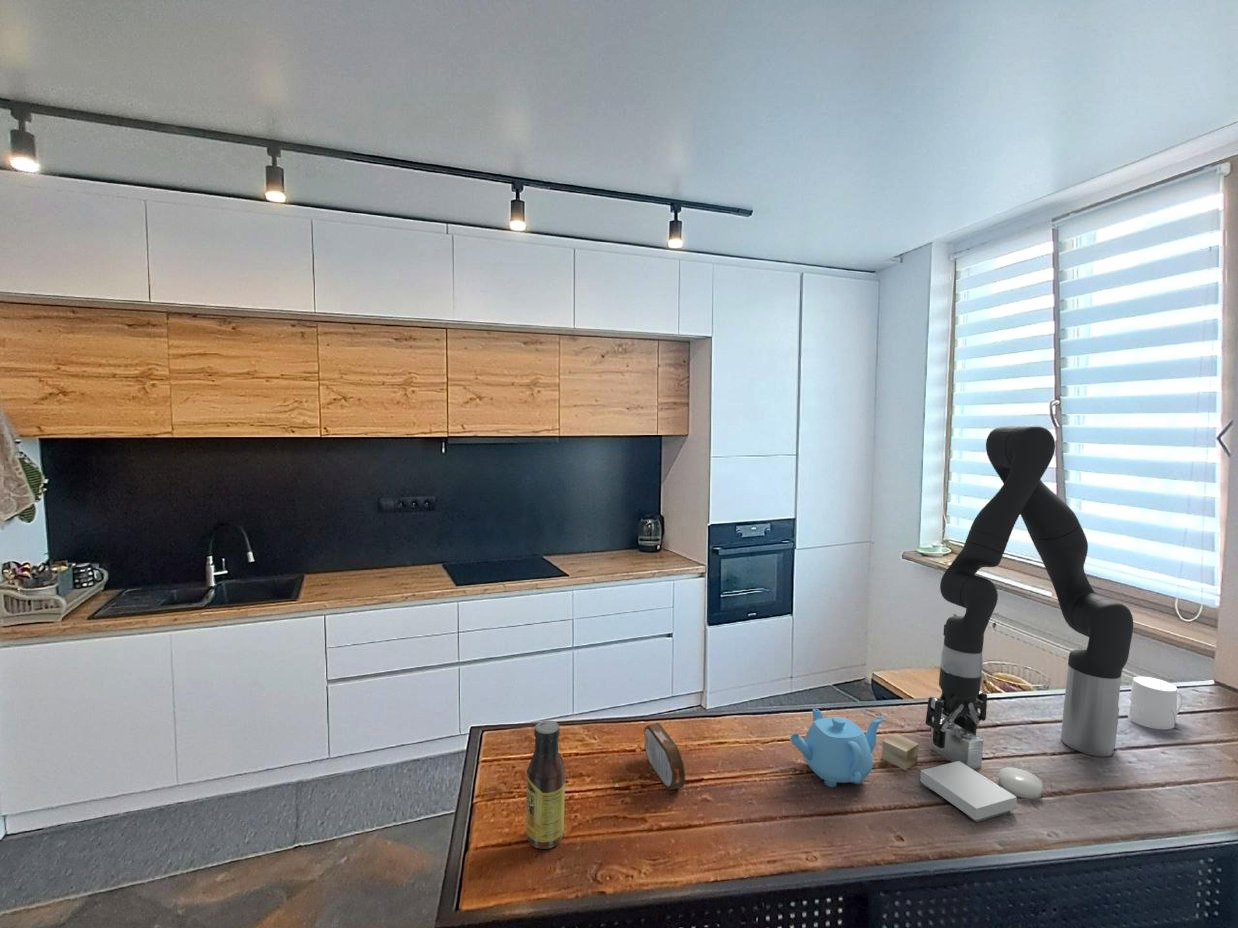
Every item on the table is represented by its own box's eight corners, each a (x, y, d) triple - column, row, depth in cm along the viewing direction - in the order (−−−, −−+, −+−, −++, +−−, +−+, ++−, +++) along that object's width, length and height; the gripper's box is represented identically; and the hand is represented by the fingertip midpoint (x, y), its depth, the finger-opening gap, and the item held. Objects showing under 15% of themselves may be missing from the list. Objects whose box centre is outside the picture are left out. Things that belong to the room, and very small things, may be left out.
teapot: (813, 744, 133) (816, 694, 132) (880, 768, 125) (884, 714, 124) (786, 777, 121) (789, 722, 120) (858, 806, 113) (862, 747, 112)
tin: (685, 797, 114) (687, 753, 114) (670, 800, 113) (671, 756, 112) (655, 753, 128) (656, 714, 128) (640, 755, 127) (642, 716, 127)
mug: (1154, 691, 142) (1121, 676, 150) (1150, 730, 143) (1117, 713, 151) (1199, 689, 144) (1164, 674, 151) (1194, 728, 144) (1160, 711, 152)
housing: (943, 744, 135) (946, 715, 134) (981, 767, 126) (983, 736, 126) (929, 748, 133) (932, 718, 133) (966, 771, 125) (969, 740, 124)
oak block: (894, 751, 132) (895, 733, 131) (917, 762, 128) (918, 743, 127) (881, 758, 129) (882, 740, 128) (904, 770, 125) (906, 751, 124)
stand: (957, 775, 123) (959, 760, 123) (1015, 812, 112) (1016, 796, 112) (919, 784, 120) (920, 770, 119) (975, 824, 109) (976, 808, 108)
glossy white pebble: (1015, 773, 124) (1016, 764, 124) (1050, 794, 118) (1051, 784, 117) (990, 780, 122) (991, 771, 121) (1024, 802, 115) (1025, 792, 115)
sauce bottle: (527, 826, 105) (528, 714, 103) (564, 825, 106) (566, 713, 104) (524, 854, 99) (525, 735, 97) (563, 852, 99) (565, 734, 97)
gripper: (970, 657, 134) (963, 728, 136) (920, 664, 129) (913, 738, 131) (1002, 671, 127) (994, 746, 129) (950, 680, 122) (943, 758, 124)
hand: (953, 742), depth 130 cm, fingers open, 8 cm apart
